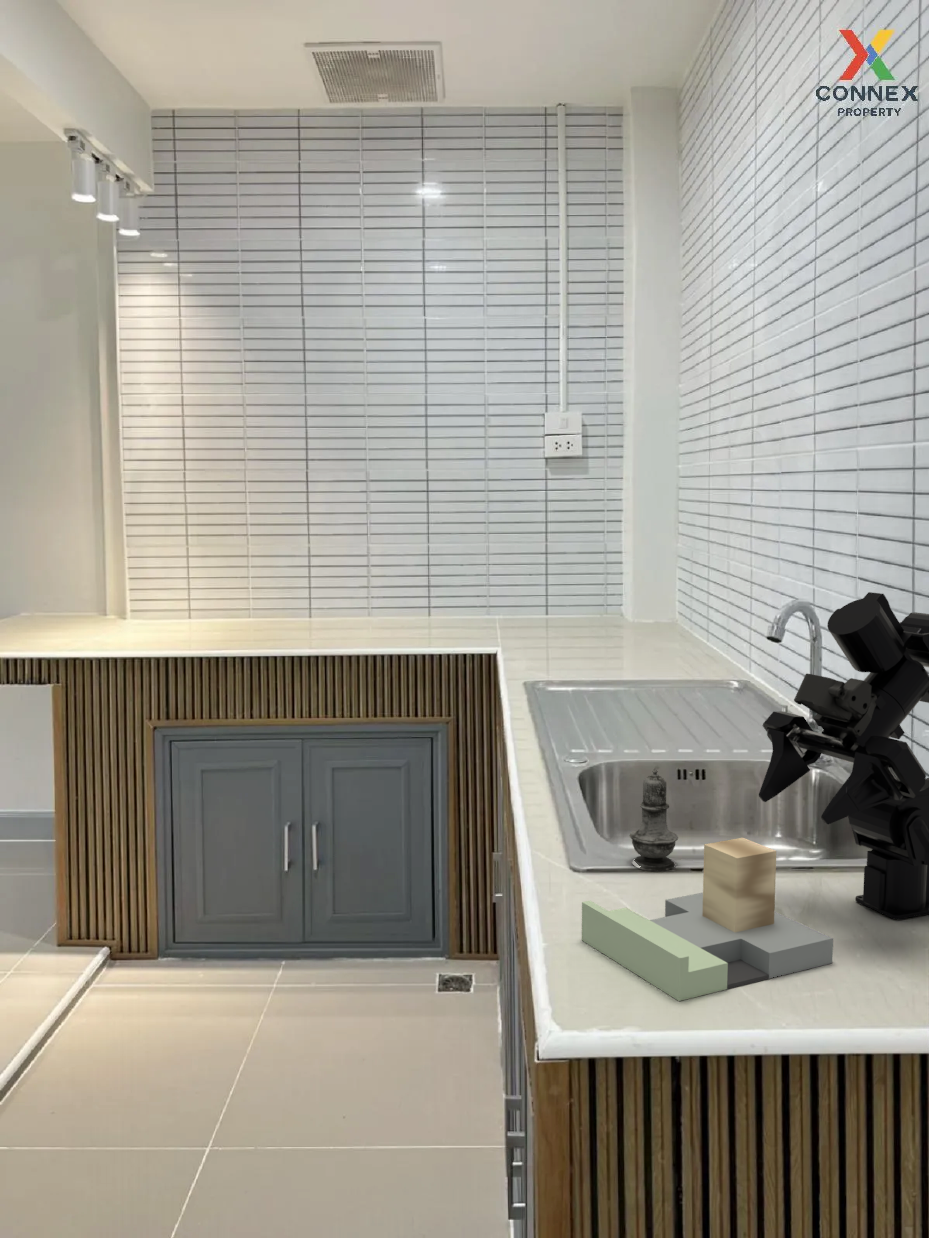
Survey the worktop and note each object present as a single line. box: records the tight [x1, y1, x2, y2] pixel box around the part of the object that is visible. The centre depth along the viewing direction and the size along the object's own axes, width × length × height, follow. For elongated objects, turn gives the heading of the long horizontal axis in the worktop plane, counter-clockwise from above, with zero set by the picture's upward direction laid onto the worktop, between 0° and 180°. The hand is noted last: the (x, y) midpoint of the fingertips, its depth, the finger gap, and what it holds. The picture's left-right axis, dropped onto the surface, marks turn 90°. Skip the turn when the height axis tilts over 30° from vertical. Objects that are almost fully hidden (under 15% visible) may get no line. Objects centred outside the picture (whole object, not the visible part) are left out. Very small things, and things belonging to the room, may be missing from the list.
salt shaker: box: [629, 767, 679, 872], centre depth 142 cm, size 6×6×12 cm
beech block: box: [702, 837, 777, 932], centre depth 117 cm, size 5×5×8 cm
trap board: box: [581, 891, 834, 1002], centre depth 116 cm, size 18×16×4 cm
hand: (791, 809), depth 120 cm, fingers open, 9 cm apart
